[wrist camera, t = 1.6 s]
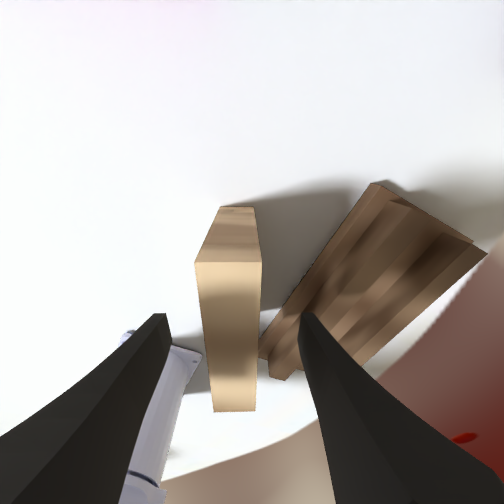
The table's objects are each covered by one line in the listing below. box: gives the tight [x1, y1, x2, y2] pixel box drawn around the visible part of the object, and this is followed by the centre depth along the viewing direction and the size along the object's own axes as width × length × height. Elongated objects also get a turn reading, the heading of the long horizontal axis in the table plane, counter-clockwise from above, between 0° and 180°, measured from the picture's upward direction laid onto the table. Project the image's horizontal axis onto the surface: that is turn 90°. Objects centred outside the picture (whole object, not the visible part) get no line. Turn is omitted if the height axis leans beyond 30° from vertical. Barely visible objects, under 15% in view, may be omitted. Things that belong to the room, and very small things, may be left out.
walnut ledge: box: [258, 183, 488, 381], centre depth 17 cm, size 18×9×3 cm, turn 154°
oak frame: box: [194, 207, 262, 412], centre depth 13 cm, size 10×2×8 cm, turn 179°
